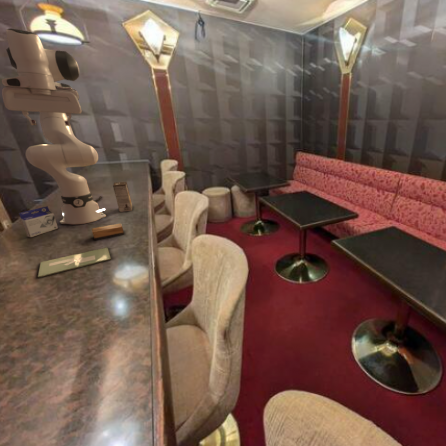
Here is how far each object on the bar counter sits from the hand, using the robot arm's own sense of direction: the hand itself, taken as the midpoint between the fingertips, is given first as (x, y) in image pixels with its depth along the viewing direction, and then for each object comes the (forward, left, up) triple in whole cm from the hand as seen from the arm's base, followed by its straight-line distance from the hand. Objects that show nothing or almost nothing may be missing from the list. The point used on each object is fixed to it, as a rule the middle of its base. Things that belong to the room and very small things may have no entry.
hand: (51, 125), depth 93 cm
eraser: (0, +8, -48) cm, 49 cm away
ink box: (-21, -15, -48) cm, 55 cm away
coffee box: (-39, +20, -48) cm, 65 cm away
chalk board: (+21, -4, -48) cm, 53 cm away
